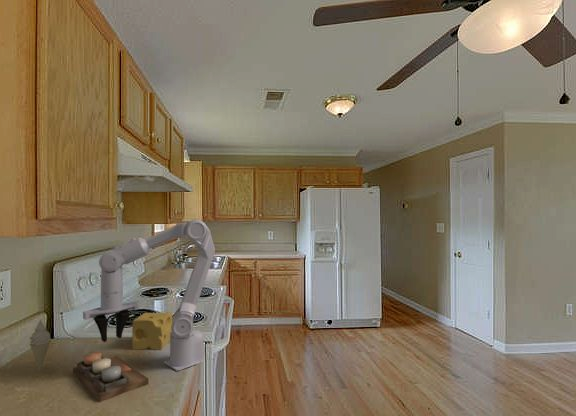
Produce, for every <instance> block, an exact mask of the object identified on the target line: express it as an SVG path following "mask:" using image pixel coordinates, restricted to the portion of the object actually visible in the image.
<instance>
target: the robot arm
mask: <svg viewBox="0 0 576 416" xmlns="http://www.w3.org/2000/svg"><path fill="white" fill-rule="evenodd" d="M186 237H187V238H188V239H189V240H190V241H191V242H193V244H194V245H195V247H196V249H197V251H198V254H197V256H196V259H195V262H194V265H193V267H192V271H191V273H190V277H189V278H188V283H187V285H186V289H185V290H184V294H183V297H182V300H181V302H180V304H179V307H178V308H177V310H175V312H174V313H173V314H172V325H171V330H172V332H171V333H170V341H169V359H168V360H165V361H164V364H165V365H167V366H168V367H170V368H171V369H173V370H175V372H176V371H177V372H178V371H182V370H184V369H187V368H189V367H194V366H195V365H198V364H201V363H204V362H205V360H206V359H204V338H203V337H204V336H203V334H202V333H201V331H200V330H198V329H194V317H195V314H196V308H197V305H198V302H199V300H200V296H201V293H202V291H203V287H204V286H205V282H206V279H207V277H208V273H209V270H210V267H211V265H212V262H213V259H214V255H215V253H216V248H215V244H214V241H213V237H212V233H211V230H210V229H209V227H208V226H207V225H206V223H205V222H204V221H202V220H200V219H197V218H196V219H191V220H189V221H188V222H187V221H185V222H181V223H178V224H175V225H173V226H171V227H169V228H167V229H165V230H162V231H161V232H158V233H156V234H154V235H153V236H150V237H148V238H142V237H137V238H135V237H133V238H130V240H129V241H128V242H126V243H124V244H122V245H120V246H119V245H116V246H114V247H113V249H110V250H108V251H106V252H105V253H103V254H102V255H101V256H100V258H99V259H98V265H99V267H100V269H101V271H100V272H101V273H100V274H101V275H100V276H101V277H100V307H95V308H93V309H89V310H85V311H83V312H82V319H83V320H85V321H86V320H90V319H93V320H94V322H95V324H96V326H97V329H98V330H99V334H100V339H101V341H102V342H103V343H105V342H107V341H108V340H107V339H108V323H109V322H108V321H109V319H108V318H107V315H113V314H114V315H115V324H116V326H115V337H116V338H117V339H122V336H123V331H124V328H125V326H126V323H127V321H128V320H129V318H130V315H131V313H130V312H129V311H136V310H137V311H138V309H139V303H138V302H136V301H134V302H126V303H123V302H124V301H123V299H124V298H123V295H124V291H123V289H124V288H123V287H124V284H123V283H124V276H123V265H129V264H131V263H134V262H135V261H137V260H139V259H142V258H143V257H145V256H148V254H149V252H150V250H151V249H153V248H155V247H157V246H160V245H161V244H164V243H166V242H169V241H171V240H174V239H186Z"/></svg>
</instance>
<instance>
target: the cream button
mask: <svg viewBox="0 0 576 416" xmlns="http://www.w3.org/2000/svg"><path fill="white" fill-rule="evenodd" d="M107 367H111V360H110V359H106V358H104V359H99V360H96V361H94V362H93V370H92V371H93V372H94V373H101V372H102V370H103V369H105V368H107Z"/></svg>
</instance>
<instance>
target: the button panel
mask: <svg viewBox="0 0 576 416" xmlns="http://www.w3.org/2000/svg"><path fill="white" fill-rule="evenodd" d="M102 359H110V360H111V366H119V367H121V377H120V378H118V379H116V380H114V381H103V380H102V372H101V373H94V372H93V371H92V370H93V365H85V364H84V360H80V361H79V362H76V366H74V367H72V375H74V377H76V378H77V380H79V381H80V382H81V383H82V385H84V386H85V387H86V388H87V390H88V391H89V392H91V393H92V394H93V396H94V397H96V399H97V400H98V401H99V402H104V401H106V400H108V399H111V398H114V397H116V396H119V395H122V394H125V393H127V392H130V391H134V390H136V389H139V388H141V387H144V386H148V385H149V377H147V376H146V375H144V374H143V373H142V372H140V371H139V370H138V369H136V368H134V367H133V366H131V365H130V364H129V363H128V362H126V361H125V360H123V359H122V358H120V357H119V356H117V355H114V356H111V357H110V356H109V357H107V358H105V357H103V356H102Z"/></svg>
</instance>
